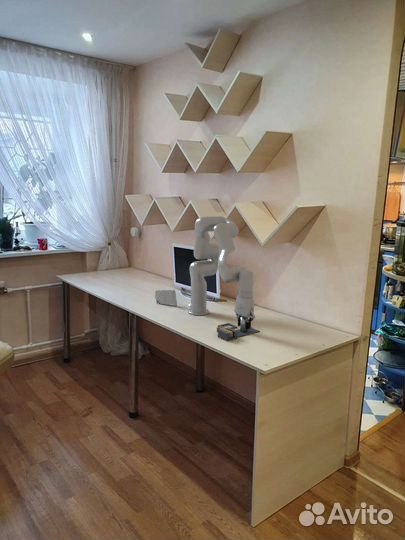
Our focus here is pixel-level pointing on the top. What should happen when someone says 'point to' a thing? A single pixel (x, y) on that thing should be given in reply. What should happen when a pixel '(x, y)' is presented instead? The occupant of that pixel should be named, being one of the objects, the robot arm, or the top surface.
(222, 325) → the socket collar
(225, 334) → the socket block
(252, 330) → the mat
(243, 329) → the peg
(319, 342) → the top surface
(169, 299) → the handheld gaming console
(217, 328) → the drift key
